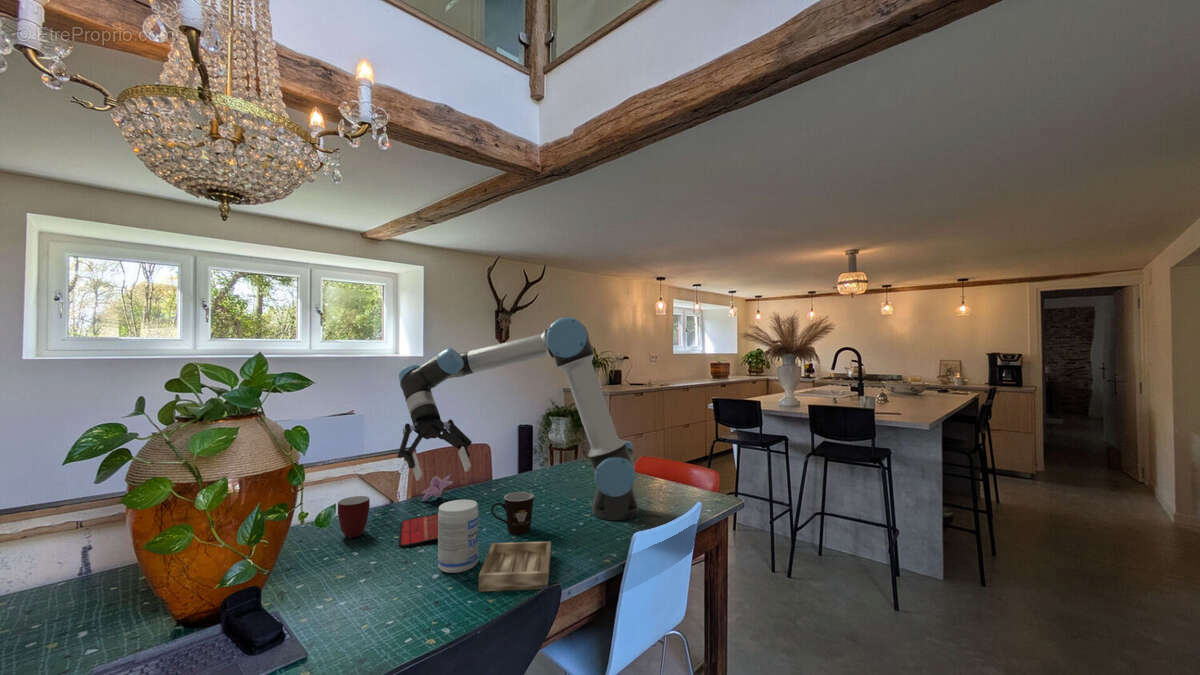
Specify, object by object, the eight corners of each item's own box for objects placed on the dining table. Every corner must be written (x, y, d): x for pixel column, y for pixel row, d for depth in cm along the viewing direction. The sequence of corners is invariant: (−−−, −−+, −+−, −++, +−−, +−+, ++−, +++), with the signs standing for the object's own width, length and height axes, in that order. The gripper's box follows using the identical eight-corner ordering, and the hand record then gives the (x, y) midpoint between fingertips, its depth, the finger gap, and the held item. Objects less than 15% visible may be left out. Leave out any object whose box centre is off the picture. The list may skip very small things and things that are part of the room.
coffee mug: (537, 525, 139) (537, 492, 139) (529, 537, 130) (529, 501, 131) (499, 524, 140) (499, 491, 140) (489, 535, 131) (489, 500, 132)
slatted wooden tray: (550, 555, 119) (550, 541, 119) (547, 589, 102) (547, 572, 102) (492, 556, 118) (492, 543, 118) (478, 591, 101) (478, 575, 101)
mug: (339, 530, 136) (339, 496, 137) (369, 525, 140) (369, 492, 140) (336, 543, 127) (336, 506, 127) (369, 538, 130) (369, 502, 131)
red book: (454, 509, 148) (460, 533, 129) (454, 516, 148) (460, 541, 129) (400, 518, 142) (397, 545, 123) (400, 525, 142) (398, 554, 123)
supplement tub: (477, 572, 110) (477, 509, 110) (435, 576, 108) (435, 513, 108) (478, 554, 119) (478, 497, 120) (440, 558, 117) (440, 500, 118)
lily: (458, 498, 169) (448, 474, 171) (462, 493, 159) (451, 468, 161) (425, 514, 163) (415, 489, 165) (427, 511, 153) (416, 484, 155)
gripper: (459, 415, 145) (481, 473, 134) (374, 422, 128) (392, 489, 117) (467, 399, 141) (491, 458, 130) (381, 405, 124) (400, 473, 113)
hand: (444, 473), depth 123 cm, fingers open, 13 cm apart
